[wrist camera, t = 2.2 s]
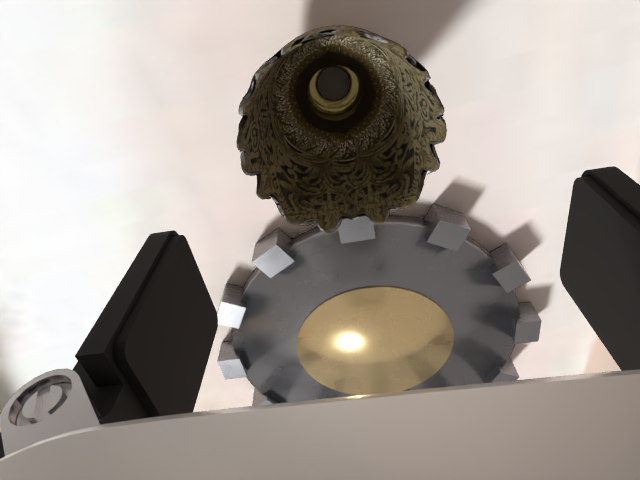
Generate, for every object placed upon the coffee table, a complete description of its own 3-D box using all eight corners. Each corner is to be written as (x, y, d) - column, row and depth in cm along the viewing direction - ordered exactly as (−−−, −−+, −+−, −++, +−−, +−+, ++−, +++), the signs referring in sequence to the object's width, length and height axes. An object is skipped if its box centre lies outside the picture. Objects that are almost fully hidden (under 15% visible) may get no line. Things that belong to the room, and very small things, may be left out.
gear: (172, 230, 27) (164, 247, 26) (546, 171, 25) (561, 186, 23) (262, 434, 39) (260, 453, 38) (517, 406, 37) (525, 425, 36)
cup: (404, -15, 20) (447, 11, 13) (412, 140, 24) (448, 218, 17) (242, 16, 20) (206, 55, 14) (277, 162, 25) (263, 245, 18)
